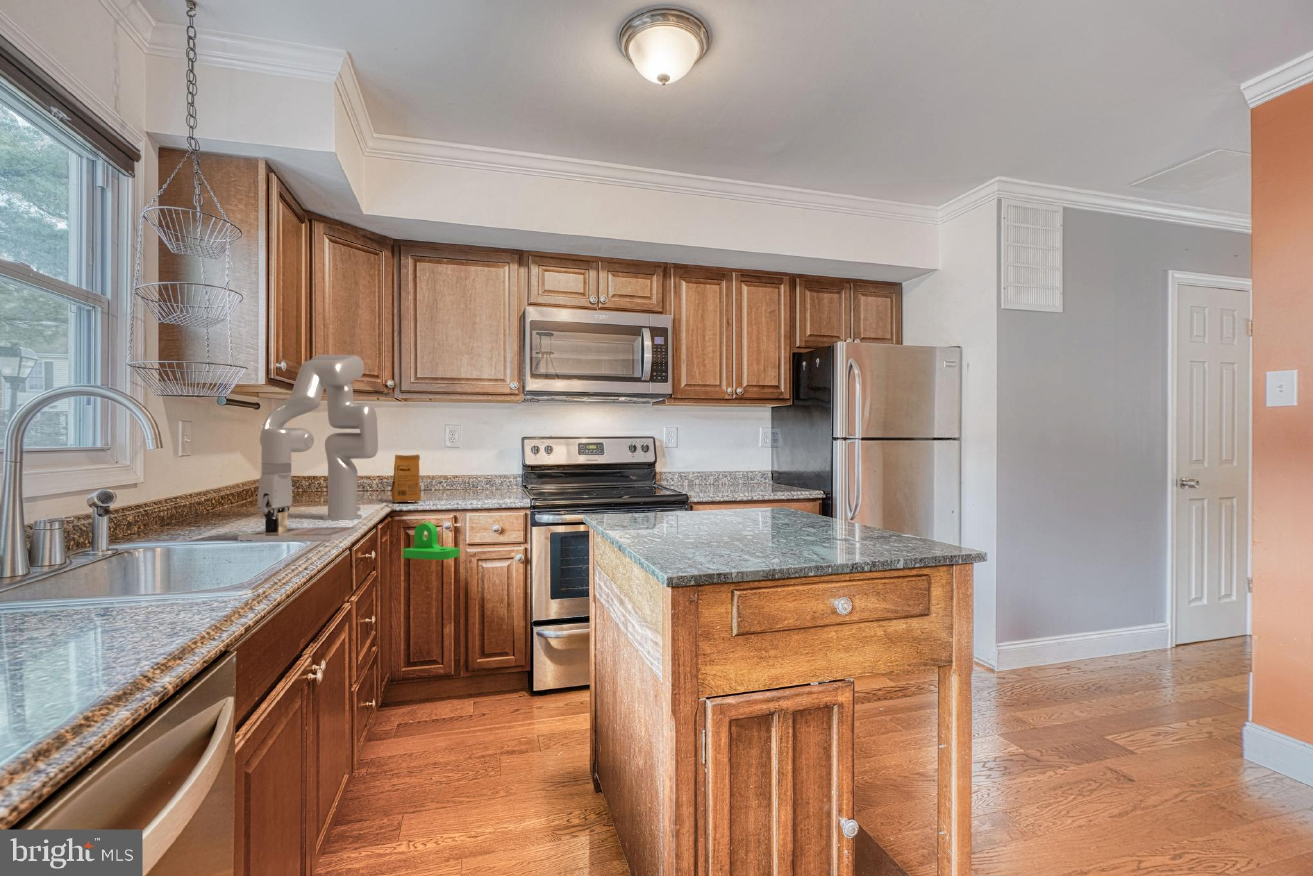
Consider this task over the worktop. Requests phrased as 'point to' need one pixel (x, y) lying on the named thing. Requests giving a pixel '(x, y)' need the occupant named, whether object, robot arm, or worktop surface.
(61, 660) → the worktop surface
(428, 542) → the mechanical part
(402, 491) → the coffee package
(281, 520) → the wooden cube
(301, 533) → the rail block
